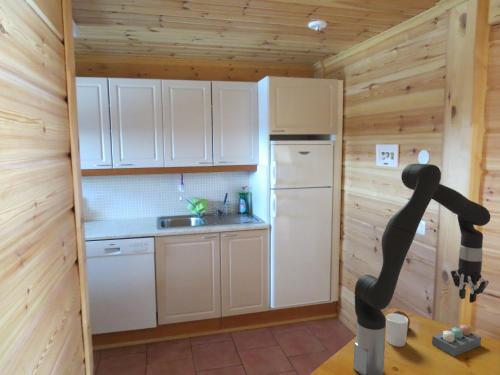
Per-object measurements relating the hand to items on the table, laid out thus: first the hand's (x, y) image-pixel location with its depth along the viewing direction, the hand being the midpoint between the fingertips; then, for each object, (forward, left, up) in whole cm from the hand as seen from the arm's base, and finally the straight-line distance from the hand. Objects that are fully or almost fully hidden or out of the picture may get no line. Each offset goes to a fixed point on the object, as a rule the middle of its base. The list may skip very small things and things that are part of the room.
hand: (467, 300), depth 137 cm
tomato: (-14, +19, -17) cm, 29 cm away
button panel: (-5, 0, -17) cm, 18 cm away
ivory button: (-10, 0, -15) cm, 18 cm away
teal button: (-5, 0, -15) cm, 16 cm away
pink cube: (0, 0, -15) cm, 15 cm away
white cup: (-24, +12, -17) cm, 32 cm away
